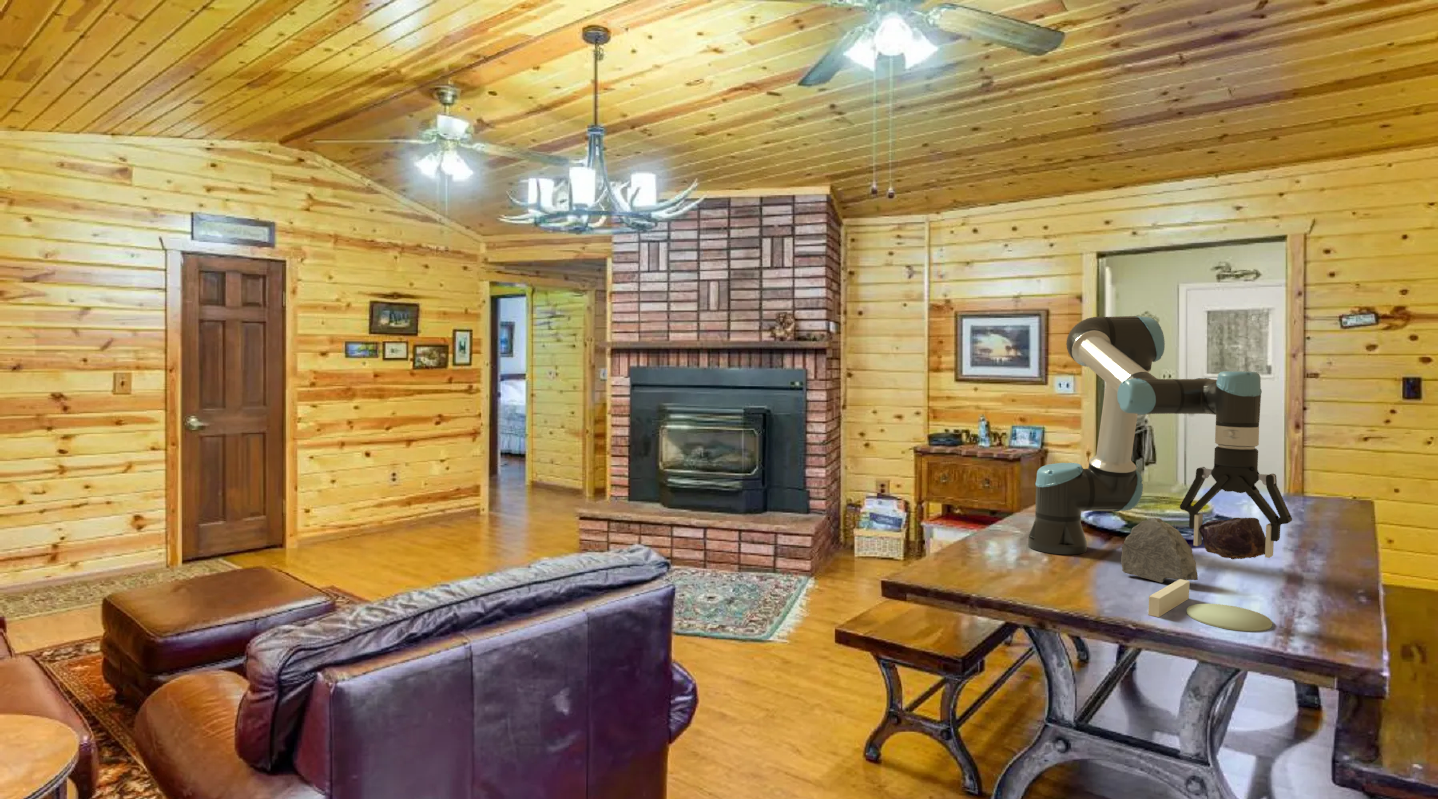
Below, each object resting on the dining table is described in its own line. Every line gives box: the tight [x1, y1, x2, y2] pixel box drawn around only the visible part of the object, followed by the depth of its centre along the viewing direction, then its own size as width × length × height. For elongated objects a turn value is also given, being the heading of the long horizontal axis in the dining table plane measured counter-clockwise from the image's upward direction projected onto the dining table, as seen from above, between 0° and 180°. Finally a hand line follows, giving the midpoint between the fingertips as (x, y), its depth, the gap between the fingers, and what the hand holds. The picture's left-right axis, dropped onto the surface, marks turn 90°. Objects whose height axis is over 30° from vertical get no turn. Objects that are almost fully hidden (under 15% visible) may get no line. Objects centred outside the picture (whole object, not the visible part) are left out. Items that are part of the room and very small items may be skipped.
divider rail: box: [1147, 579, 1191, 618], centre depth 174 cm, size 2×18×4 cm, turn 132°
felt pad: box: [1186, 603, 1273, 632], centre depth 167 cm, size 15×15×1 cm
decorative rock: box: [1120, 517, 1199, 583], centre depth 193 cm, size 16×7×15 cm, turn 43°
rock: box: [1199, 517, 1266, 560], centre depth 166 cm, size 12×9×10 cm
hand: (1232, 550), depth 166 cm, fingers closed on rock, 12 cm apart
